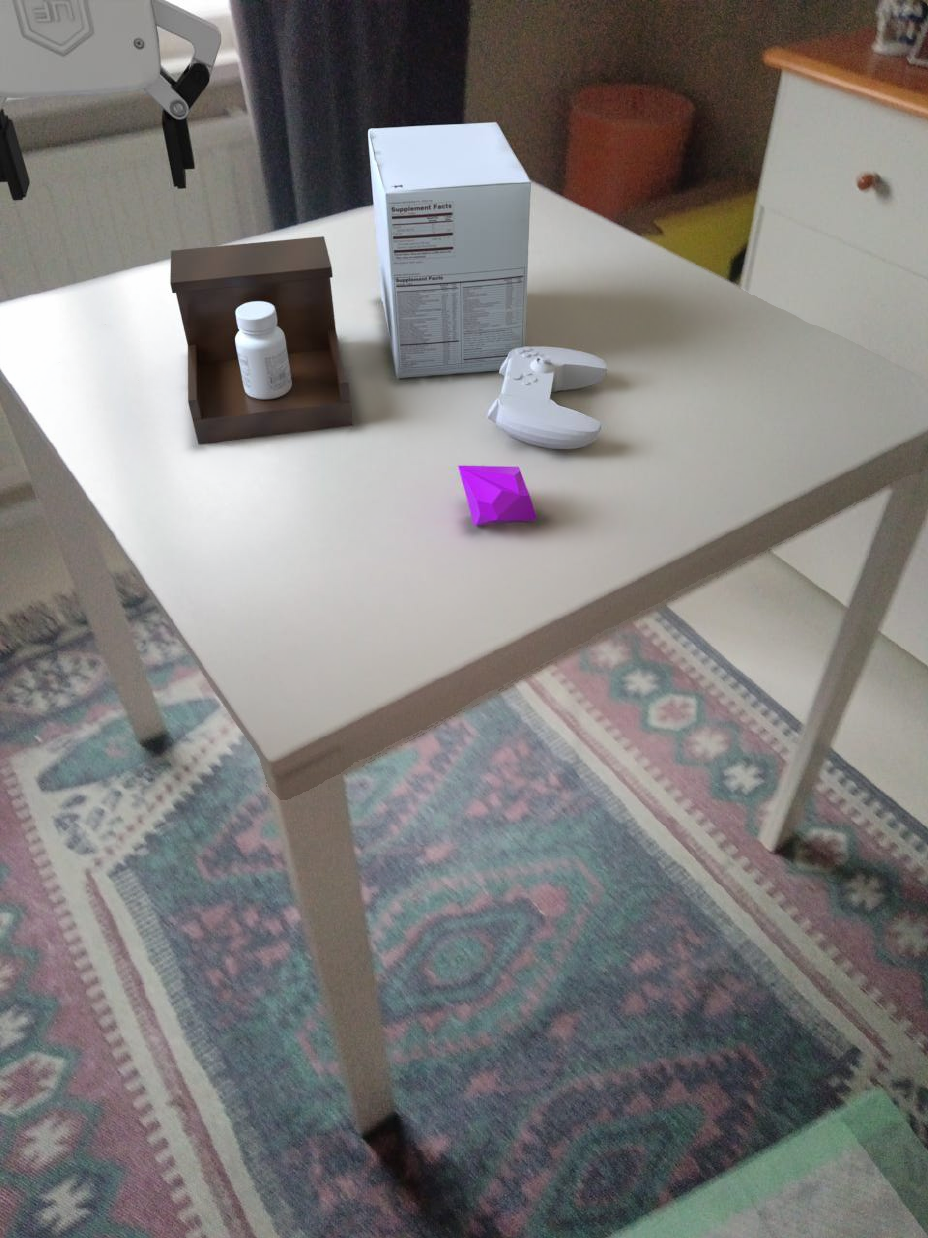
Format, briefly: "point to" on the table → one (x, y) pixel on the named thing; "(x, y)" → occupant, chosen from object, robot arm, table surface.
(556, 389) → the game controller
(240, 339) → the pill bottle
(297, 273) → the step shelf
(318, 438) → the table surface
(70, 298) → the table surface
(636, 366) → the table surface
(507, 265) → the supplement box
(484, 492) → the crystal
